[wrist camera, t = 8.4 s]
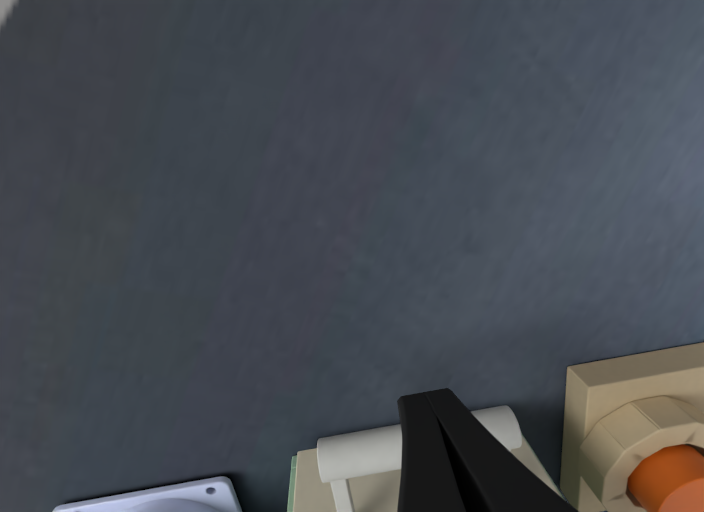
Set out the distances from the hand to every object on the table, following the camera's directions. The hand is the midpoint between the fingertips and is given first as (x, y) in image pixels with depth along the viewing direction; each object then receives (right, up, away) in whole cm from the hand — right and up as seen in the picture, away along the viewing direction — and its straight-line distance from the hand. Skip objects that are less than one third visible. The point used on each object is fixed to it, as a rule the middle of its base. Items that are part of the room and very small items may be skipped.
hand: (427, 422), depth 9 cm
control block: (+15, -5, +11) cm, 19 cm away
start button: (+13, -6, +8) cm, 17 cm away
